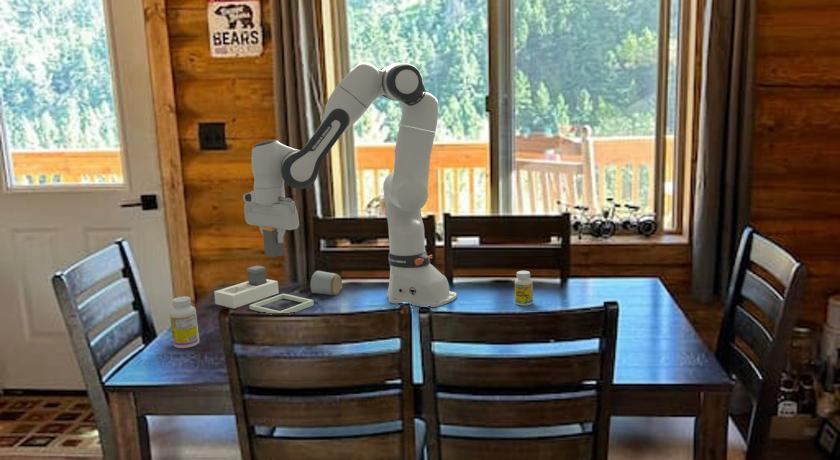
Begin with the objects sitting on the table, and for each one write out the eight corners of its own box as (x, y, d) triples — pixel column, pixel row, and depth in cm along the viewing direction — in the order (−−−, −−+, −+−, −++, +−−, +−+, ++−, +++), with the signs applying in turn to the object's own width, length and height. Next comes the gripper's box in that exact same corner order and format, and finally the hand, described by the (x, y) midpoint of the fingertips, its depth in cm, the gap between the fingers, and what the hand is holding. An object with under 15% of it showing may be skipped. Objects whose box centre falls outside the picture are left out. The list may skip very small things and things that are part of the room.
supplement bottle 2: (534, 301, 218) (533, 270, 216) (531, 306, 213) (531, 275, 211) (516, 300, 220) (516, 269, 218) (513, 305, 215) (512, 274, 213)
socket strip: (279, 296, 234) (277, 281, 233) (234, 311, 220) (232, 295, 219) (260, 292, 239) (259, 277, 238) (215, 306, 226) (214, 291, 224)
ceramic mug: (333, 299, 229) (331, 275, 227) (310, 297, 232) (309, 273, 230) (348, 290, 238) (347, 267, 237) (326, 288, 241) (325, 266, 240)
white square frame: (314, 306, 221) (313, 300, 221) (280, 319, 211) (279, 312, 210) (283, 300, 230) (283, 293, 229) (250, 312, 219) (249, 305, 219)
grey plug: (284, 254, 217) (281, 225, 215) (274, 257, 214) (271, 227, 212) (275, 252, 220) (272, 223, 218) (265, 255, 216) (262, 226, 215)
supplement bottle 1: (177, 341, 197) (171, 295, 194) (201, 339, 197) (196, 294, 195) (171, 350, 190) (165, 303, 188) (196, 348, 191) (191, 301, 188)
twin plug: (267, 294, 233) (265, 267, 232) (257, 297, 230) (255, 270, 228) (259, 292, 236) (257, 265, 234) (249, 295, 233) (247, 268, 231)
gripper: (302, 196, 209) (305, 243, 212) (255, 192, 222) (259, 236, 224) (285, 200, 204) (289, 247, 207) (239, 195, 217) (243, 240, 220)
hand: (273, 241), depth 216 cm, fingers closed on grey plug, 4 cm apart
